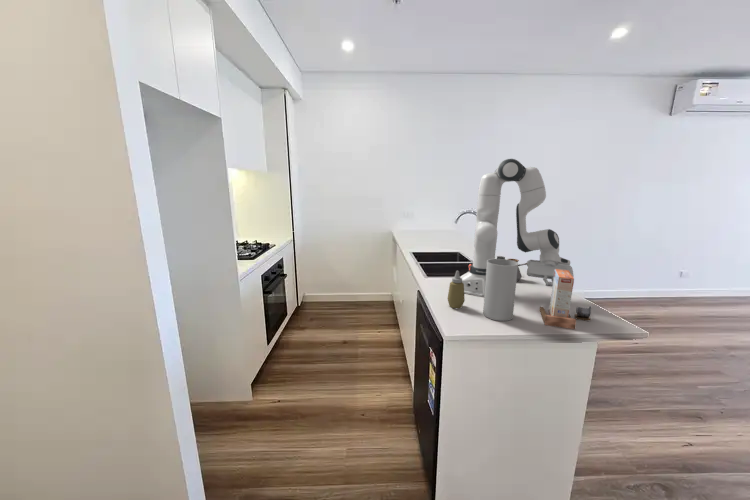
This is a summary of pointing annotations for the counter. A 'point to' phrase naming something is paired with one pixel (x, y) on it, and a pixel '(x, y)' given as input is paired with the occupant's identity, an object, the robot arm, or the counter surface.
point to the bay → (557, 320)
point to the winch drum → (583, 313)
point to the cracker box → (561, 293)
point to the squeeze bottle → (456, 292)
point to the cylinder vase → (500, 289)
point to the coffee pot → (518, 269)
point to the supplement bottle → (500, 257)
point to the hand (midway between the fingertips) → (549, 285)
